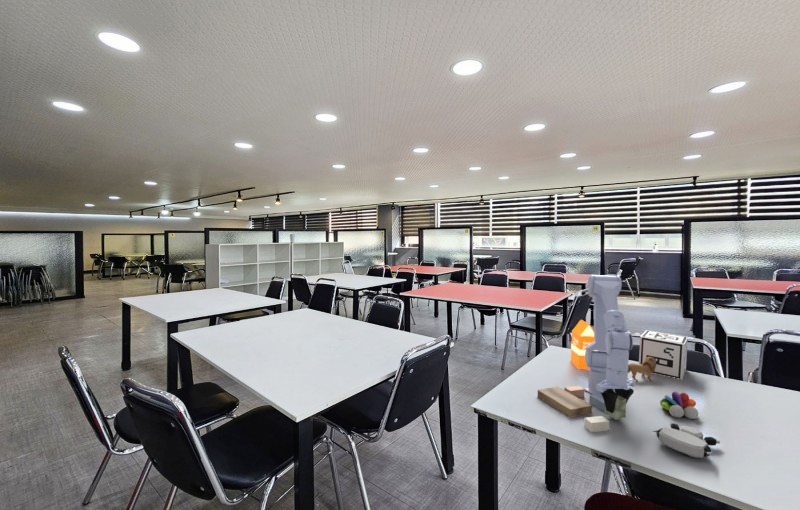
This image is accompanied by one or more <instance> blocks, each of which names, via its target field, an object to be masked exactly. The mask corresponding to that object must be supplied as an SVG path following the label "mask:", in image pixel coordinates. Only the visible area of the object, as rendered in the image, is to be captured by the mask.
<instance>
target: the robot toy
mask: <svg viewBox="0 0 800 510" xmlns="http://www.w3.org/2000/svg"><path fill="white" fill-rule="evenodd" d="M669 425H670V427H663V428H659V429H658V430H651V432H652V433H655V434H656V437H657V438H658V440H659V441H660V442H661V443H662V444H663V445H665V446H666V447H667V448H670V449H673V450H675V451H676V452H680V453H682V454H685V455H688V456H689V457H691V458H694V459H697V458H698V459H703V457H704V458H708V457H709V456H711V455H713V454H714V453H713V451H712V449H711V447H712V446H713V447H714V446H717V445H719V444H720V443H721V441H720V440H718V439H717V438H714V437H712V436H705V437H704V434H703V432H702V431H700V430H699V429H697V428H695V427H691V426H687V425H682V426H680V425H678V424H677V423H672V422H670V424H669ZM710 446H711V447H710Z"/></svg>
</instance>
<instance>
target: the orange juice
mask: <svg viewBox="0 0 800 510" xmlns="http://www.w3.org/2000/svg"><path fill="white" fill-rule="evenodd" d="M592 342H594V328H593V327H591V325H590V323H588V322H587V321H584V320H583V319H580V320H579V321H578V323H577V324H576V325H575V326H574V328H573V329H572V330H571V345H570V346H571V347H570V350H571V351H570V353H571V354H570V362H571V363H572V364H573V365H574V366H575V367H576V368H577V369H578V370H589V367H587V365H586V364H585V352H586V346H587V345H589V344H591V343H592ZM593 351H598V350H593Z"/></svg>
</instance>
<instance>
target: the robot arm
mask: <svg viewBox="0 0 800 510" xmlns="http://www.w3.org/2000/svg"><path fill="white" fill-rule="evenodd" d="M622 286H623V285H622V278H621V277H620V276H619V275H604V274H603V275H602V274H601V275H600V274H589V276H588V281H587V293H588V297H590V298H592V299H593V331H594V342H592V343H591V344H589V345H587V346H586V352H585V364H586V365H587V367H589V369H588V386H586V387H582V388H583V389H585V391H586V392H588V393H589V394H590V395H594V394H598V395H599V396H601V397H603V399H604V403H605V407H606V410H607V411H608V412H610V413H613V412H614V409H615V403H616V400H617V397H618V396H621V397H623V398H625V399H626V405H627V403H628V402H629V399H630V397H632V395H633V394H634V392H635V391H634V389H633V388H631V387H636V380H634V379H633V378H632V377H631V378H630V377H628V375H629V373H628V365H629V357H630V351H632V350H633V345H634V341H633V334H632V332H631V331H630V330H629V329H628V328H627V324H626V321H625V317H624V314H623V312H621V311H620V310H619V304H618V296H619V295H620V292H621V291H622ZM593 350H597V351H593Z"/></svg>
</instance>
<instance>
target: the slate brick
mask: <svg viewBox="0 0 800 510" xmlns="http://www.w3.org/2000/svg"><path fill="white" fill-rule="evenodd" d="M588 404H590V405H592V406H594V407H596V408H597V409H599V410H600V411H603V412H605V403H604V399H603V397H601V396H599V395H598V394H594V395H593V394H589V402H588Z"/></svg>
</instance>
